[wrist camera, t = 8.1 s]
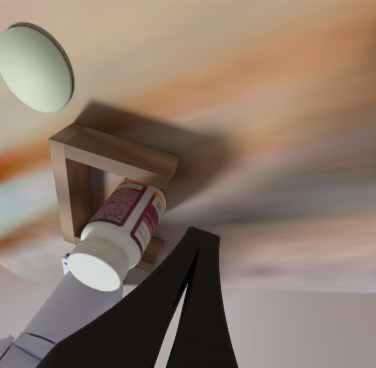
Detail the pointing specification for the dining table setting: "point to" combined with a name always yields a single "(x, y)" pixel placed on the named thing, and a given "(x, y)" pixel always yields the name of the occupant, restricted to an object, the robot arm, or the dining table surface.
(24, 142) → the dining table surface
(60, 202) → the walnut corral
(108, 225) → the pill bottle
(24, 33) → the disc
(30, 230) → the dining table surface
